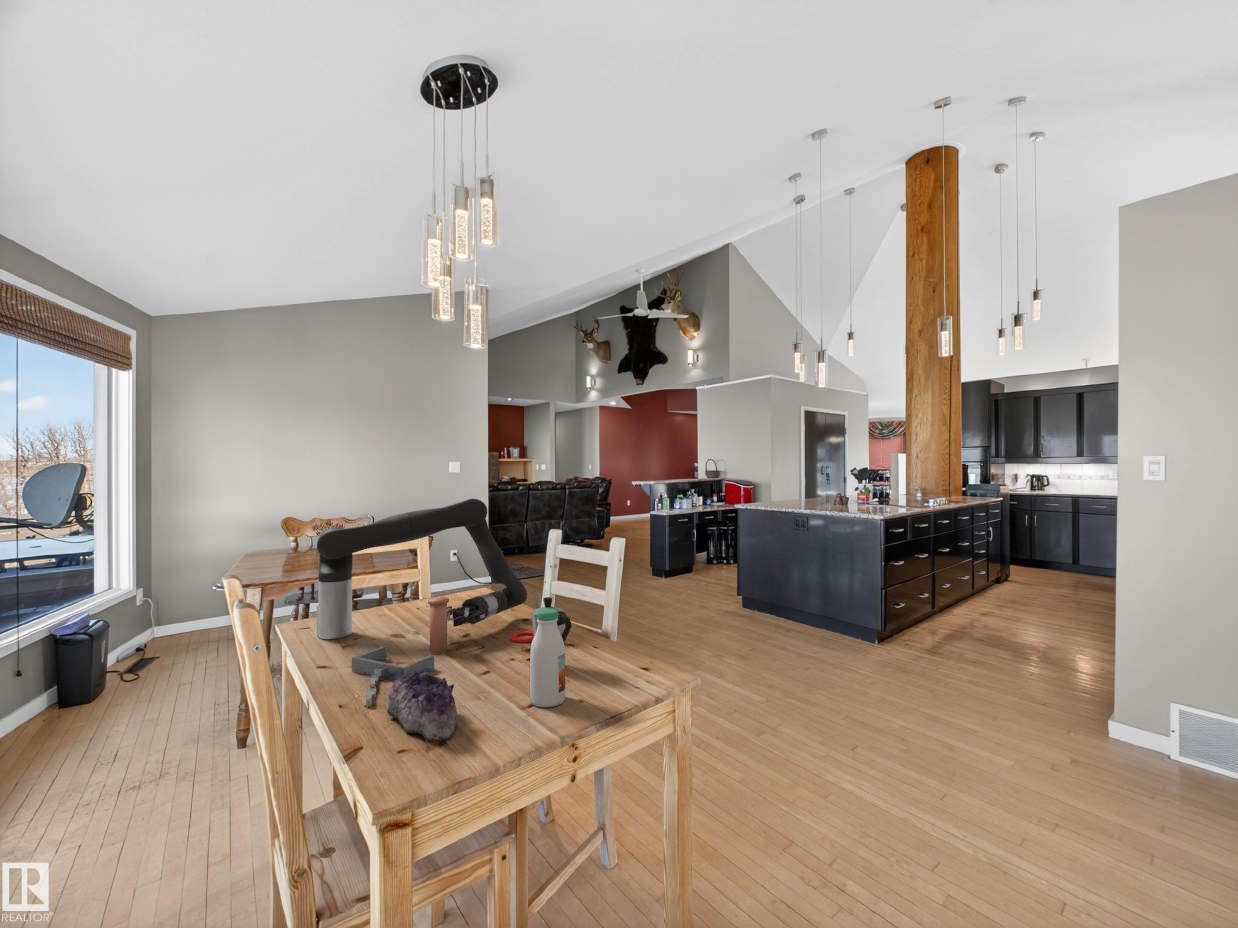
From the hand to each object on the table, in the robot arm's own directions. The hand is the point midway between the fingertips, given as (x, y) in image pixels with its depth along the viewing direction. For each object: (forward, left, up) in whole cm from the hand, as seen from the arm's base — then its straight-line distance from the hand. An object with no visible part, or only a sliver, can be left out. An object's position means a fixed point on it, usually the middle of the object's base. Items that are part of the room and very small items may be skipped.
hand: (442, 621), depth 156 cm
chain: (+6, -30, -8) cm, 31 cm away
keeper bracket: (0, -18, -8) cm, 19 cm away
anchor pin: (0, -2, -8) cm, 8 cm away
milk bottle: (+46, -17, -8) cm, 50 cm away
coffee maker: (+36, 0, -8) cm, 37 cm away
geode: (+29, -35, -8) cm, 47 cm away
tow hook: (+16, +18, -8) cm, 26 cm away
